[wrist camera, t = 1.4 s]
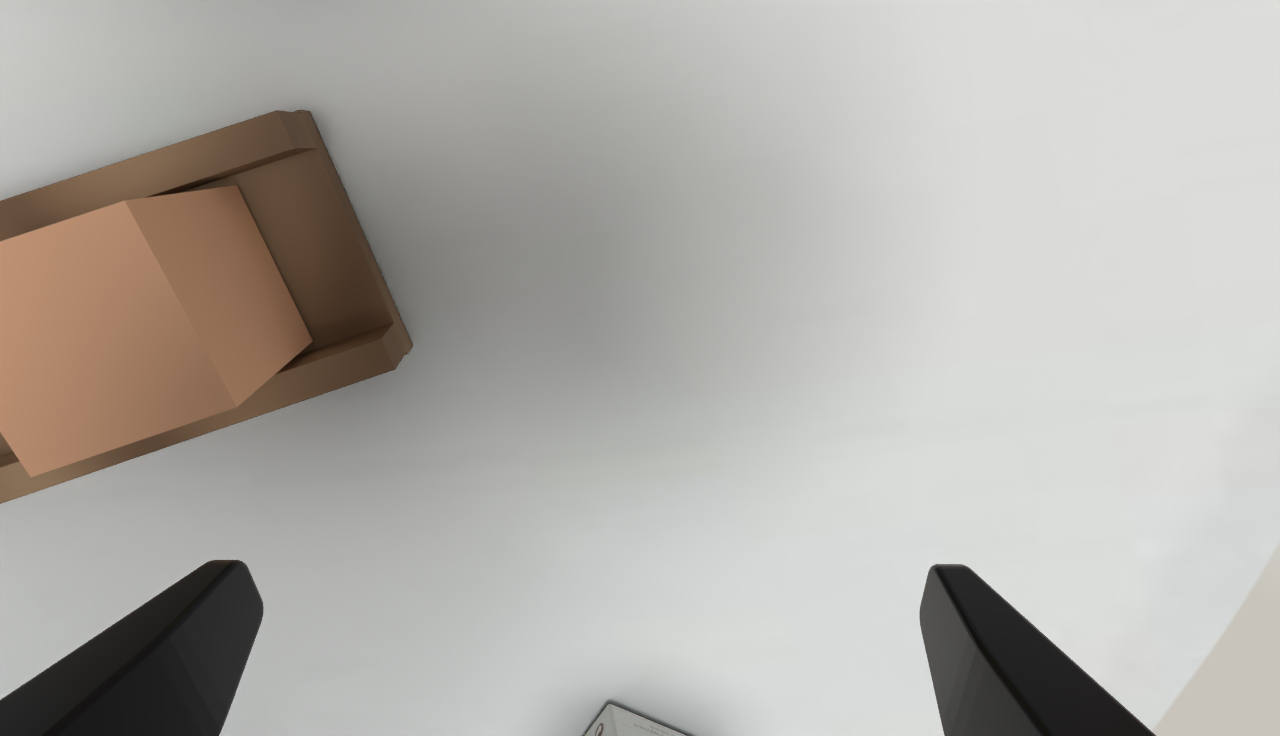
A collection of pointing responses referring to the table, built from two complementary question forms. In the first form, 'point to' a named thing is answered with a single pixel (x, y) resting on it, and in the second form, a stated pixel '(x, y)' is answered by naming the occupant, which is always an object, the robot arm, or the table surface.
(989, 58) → the table surface
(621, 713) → the skincare box
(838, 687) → the table surface
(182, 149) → the chute
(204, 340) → the block
